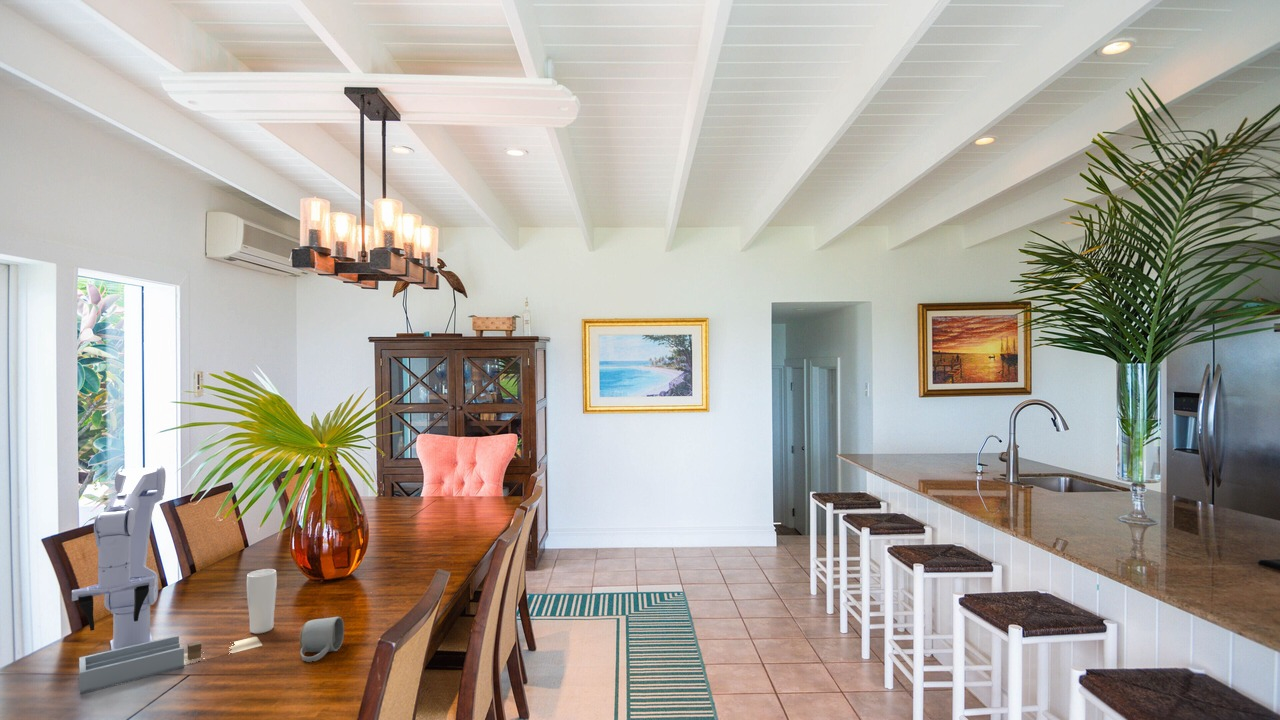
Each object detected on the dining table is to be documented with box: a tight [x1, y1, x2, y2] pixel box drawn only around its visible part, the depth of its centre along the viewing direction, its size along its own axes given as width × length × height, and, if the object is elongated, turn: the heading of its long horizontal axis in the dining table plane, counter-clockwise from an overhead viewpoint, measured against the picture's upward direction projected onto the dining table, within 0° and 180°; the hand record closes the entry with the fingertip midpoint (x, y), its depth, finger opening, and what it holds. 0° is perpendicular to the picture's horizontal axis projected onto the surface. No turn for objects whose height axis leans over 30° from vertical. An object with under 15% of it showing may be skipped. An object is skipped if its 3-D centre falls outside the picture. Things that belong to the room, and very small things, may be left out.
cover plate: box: [184, 635, 263, 666], centre depth 157 cm, size 7×16×4 cm, turn 131°
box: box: [78, 634, 185, 695], centre depth 145 cm, size 10×18×4 cm, turn 131°
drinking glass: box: [246, 568, 278, 635], centre depth 169 cm, size 7×7×15 cm
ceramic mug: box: [299, 616, 345, 663], centre depth 155 cm, size 11×8×8 cm
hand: (114, 624), depth 146 cm, fingers open, 7 cm apart
